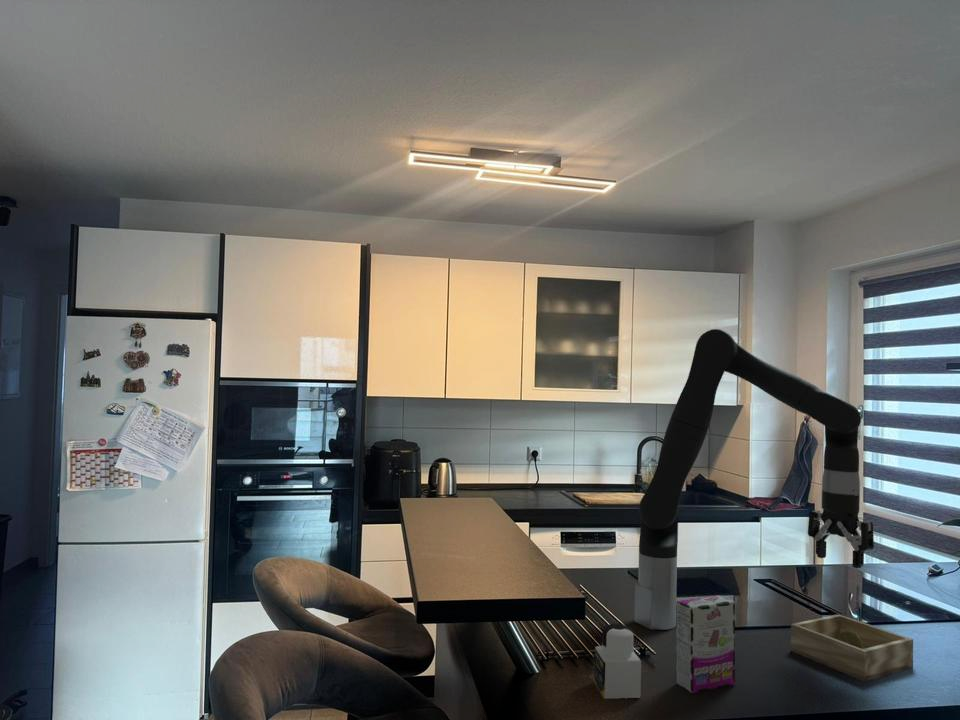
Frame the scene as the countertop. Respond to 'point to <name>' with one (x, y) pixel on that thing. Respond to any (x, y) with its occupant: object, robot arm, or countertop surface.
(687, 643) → the candy bar box
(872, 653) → the crate
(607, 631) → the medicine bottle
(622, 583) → the countertop surface
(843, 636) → the lime
